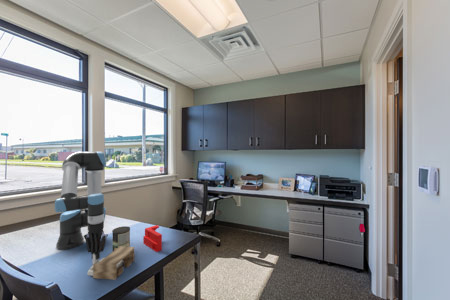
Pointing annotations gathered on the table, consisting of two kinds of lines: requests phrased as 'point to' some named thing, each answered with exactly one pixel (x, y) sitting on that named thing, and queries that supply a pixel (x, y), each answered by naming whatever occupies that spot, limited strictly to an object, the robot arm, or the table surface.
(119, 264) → the panel
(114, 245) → the coffee can
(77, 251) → the table surface
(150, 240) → the bracket
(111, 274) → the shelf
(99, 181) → the robot arm
